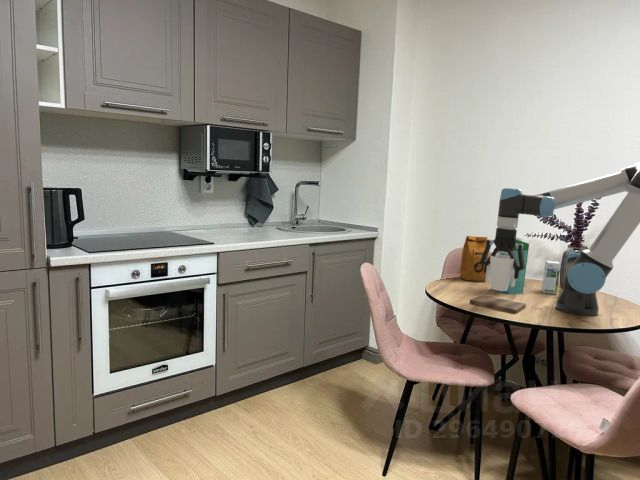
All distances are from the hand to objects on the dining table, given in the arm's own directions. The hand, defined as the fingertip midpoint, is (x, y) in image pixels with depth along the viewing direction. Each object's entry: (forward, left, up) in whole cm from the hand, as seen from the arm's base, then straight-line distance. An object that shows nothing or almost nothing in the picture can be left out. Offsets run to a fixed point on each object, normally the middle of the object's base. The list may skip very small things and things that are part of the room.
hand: (499, 283), depth 193 cm
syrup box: (-9, -45, -9) cm, 47 cm away
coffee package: (+25, -40, -9) cm, 48 cm away
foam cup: (0, 0, -2) cm, 2 cm away
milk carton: (+5, -30, -9) cm, 32 cm away
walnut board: (0, 0, -9) cm, 9 cm away
